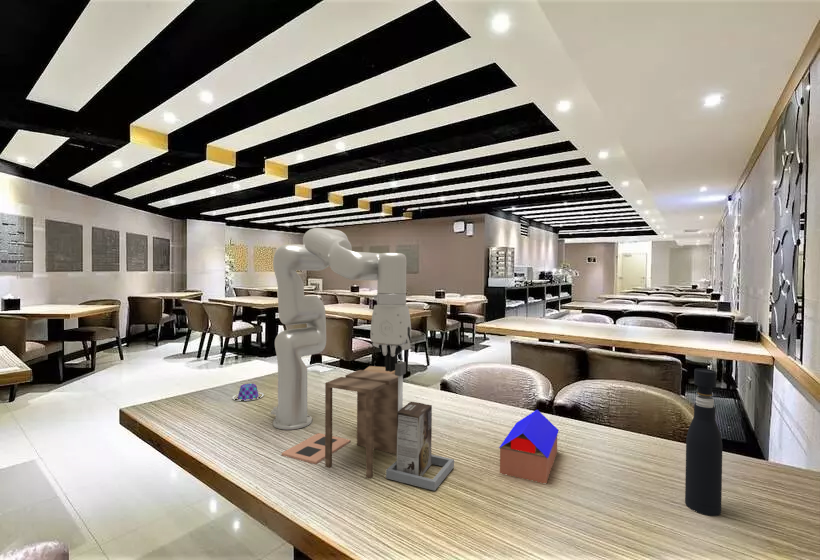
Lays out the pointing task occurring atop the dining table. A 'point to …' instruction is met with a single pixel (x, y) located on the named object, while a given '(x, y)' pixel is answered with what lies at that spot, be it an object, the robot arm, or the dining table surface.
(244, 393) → the purple checkered hat
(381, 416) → the brown wooden stand
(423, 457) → the coffee box
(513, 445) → the house
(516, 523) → the dining table surface
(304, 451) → the board
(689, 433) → the wine bottle
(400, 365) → the cradle
